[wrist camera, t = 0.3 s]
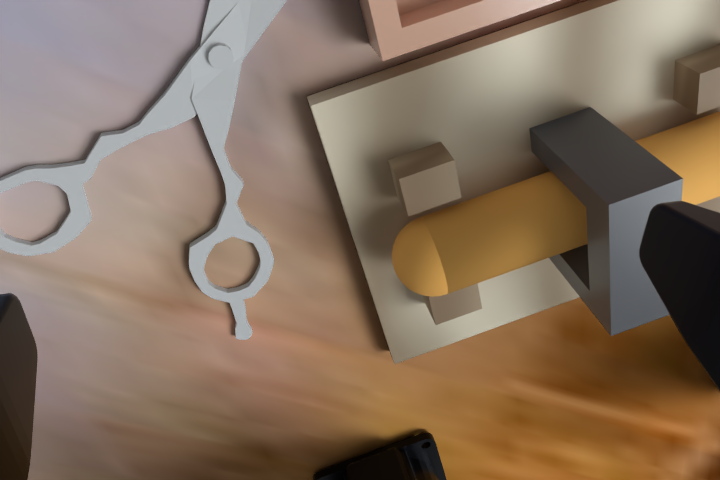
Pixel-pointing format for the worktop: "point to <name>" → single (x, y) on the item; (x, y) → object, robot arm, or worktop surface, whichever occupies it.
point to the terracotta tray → (432, 20)
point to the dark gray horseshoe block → (608, 213)
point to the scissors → (176, 105)
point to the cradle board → (501, 139)
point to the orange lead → (535, 218)
